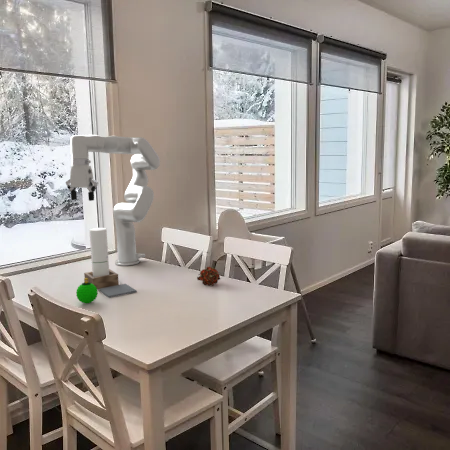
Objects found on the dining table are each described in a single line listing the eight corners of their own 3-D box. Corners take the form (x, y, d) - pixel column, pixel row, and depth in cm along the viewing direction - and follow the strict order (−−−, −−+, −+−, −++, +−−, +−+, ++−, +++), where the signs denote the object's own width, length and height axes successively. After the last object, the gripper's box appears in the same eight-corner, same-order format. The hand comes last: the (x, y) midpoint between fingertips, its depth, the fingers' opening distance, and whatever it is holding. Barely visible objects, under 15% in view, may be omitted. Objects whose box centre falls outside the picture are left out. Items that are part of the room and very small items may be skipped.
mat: (125, 285, 210) (125, 283, 209) (136, 292, 200) (136, 290, 200) (99, 290, 203) (98, 288, 203) (108, 297, 193) (108, 295, 193)
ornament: (76, 307, 183) (74, 282, 181) (77, 300, 190) (75, 276, 189) (98, 305, 185) (96, 280, 183) (98, 298, 192) (96, 274, 191)
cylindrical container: (112, 282, 215) (108, 227, 211) (106, 286, 208) (103, 230, 204) (96, 281, 216) (93, 227, 211) (90, 286, 209) (86, 230, 204)
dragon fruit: (216, 291, 203) (201, 289, 213) (228, 277, 206) (213, 275, 216) (204, 278, 200) (190, 276, 210) (216, 263, 203) (202, 262, 213)
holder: (109, 279, 220) (108, 268, 219) (118, 285, 210) (118, 274, 209) (85, 283, 213) (84, 272, 212) (93, 289, 204) (92, 278, 203)
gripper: (101, 162, 217) (103, 199, 220) (70, 162, 224) (72, 198, 226) (91, 163, 211) (93, 201, 213) (59, 163, 217) (62, 200, 220)
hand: (82, 200), depth 220 cm, fingers open, 9 cm apart
